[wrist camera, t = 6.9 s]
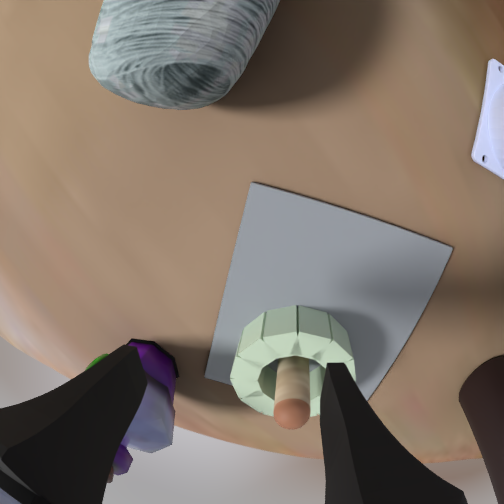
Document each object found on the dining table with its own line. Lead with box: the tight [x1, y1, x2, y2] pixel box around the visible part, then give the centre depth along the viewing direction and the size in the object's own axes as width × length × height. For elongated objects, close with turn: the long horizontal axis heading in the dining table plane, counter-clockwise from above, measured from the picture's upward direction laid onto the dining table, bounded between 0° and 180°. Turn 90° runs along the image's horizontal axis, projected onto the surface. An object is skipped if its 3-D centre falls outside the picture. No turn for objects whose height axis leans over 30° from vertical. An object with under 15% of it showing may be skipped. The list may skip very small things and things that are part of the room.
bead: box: [230, 305, 356, 417], centre depth 20 cm, size 8×8×3 cm
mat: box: [204, 182, 453, 400], centre depth 20 cm, size 14×16×1 cm
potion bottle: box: [85, 339, 179, 483], centre depth 19 cm, size 9×9×12 cm
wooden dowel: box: [273, 356, 311, 429], centre depth 18 cm, size 2×2×7 cm
